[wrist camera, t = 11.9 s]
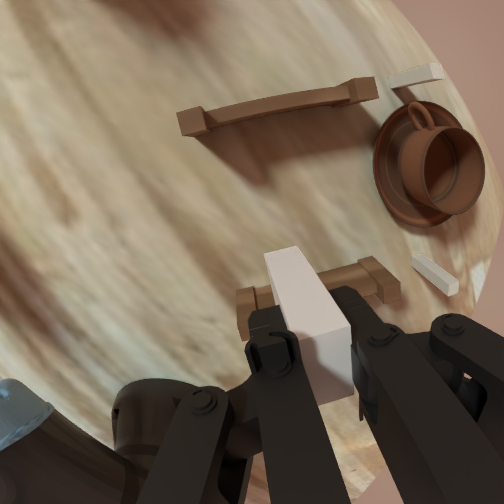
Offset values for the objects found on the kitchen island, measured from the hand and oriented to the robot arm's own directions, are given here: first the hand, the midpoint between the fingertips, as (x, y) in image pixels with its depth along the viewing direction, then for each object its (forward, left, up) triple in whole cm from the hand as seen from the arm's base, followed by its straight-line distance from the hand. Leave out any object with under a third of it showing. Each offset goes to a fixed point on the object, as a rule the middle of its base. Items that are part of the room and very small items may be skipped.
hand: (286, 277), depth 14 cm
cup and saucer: (+1, -16, -14) cm, 21 cm away
